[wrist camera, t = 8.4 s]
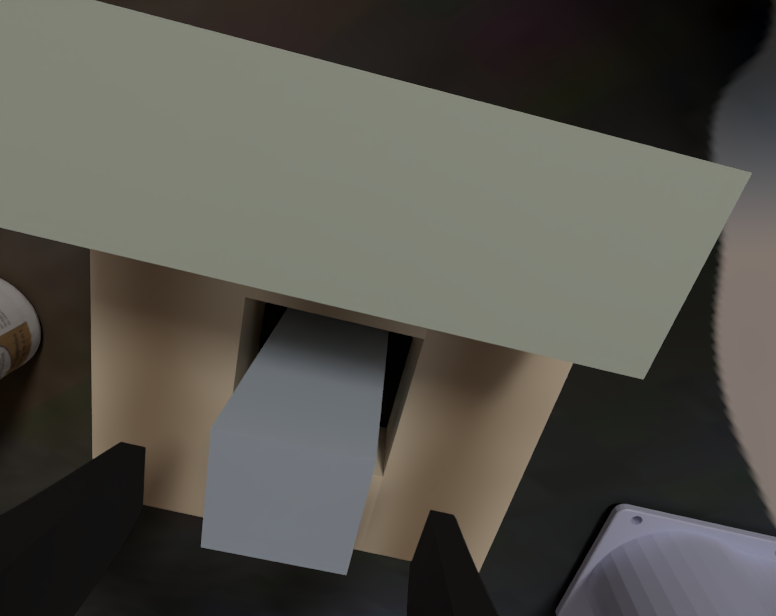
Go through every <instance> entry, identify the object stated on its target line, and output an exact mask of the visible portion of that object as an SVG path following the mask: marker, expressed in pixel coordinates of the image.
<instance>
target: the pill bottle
mask: <svg viewBox="0 0 776 616" xmlns="http://www.w3.org/2000/svg"><path fill="white" fill-rule="evenodd" d="M40 341H41V328H40V323H39V319H38V316H37V313H36V311H35V309H34V308H33V306H32V305H31V303H30V302H29V301H28V300H27V299H26V297H25V296H24V295H23V294H22V293H21V292H20V291H19V290H17V289H16V288H15V287H14V286H12V285H11V284H9V283H8V282H6V281H4V280H3V279H1V278H0V379H1V378H3V377H4V376H6V375H8V374H9V373H11V372H12V371H14V370H15V369H17V368H18V367H20V366H22V365H23V364H25V363H26V362H27V361H28V360H30V359H31V358H32V357H33V355H34V354H35V353H36V351H37V349H38V347H39V344H40Z"/></svg>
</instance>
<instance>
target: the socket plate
mask: <svg viewBox="0 0 776 616" xmlns="http://www.w3.org/2000/svg"><path fill="white" fill-rule="evenodd" d="M90 276H91V364H92V452H93V459H94V458H96V457H97V456H99V455H100V454H102V453H103V452H105V451H107V450H108V449H110V448H111V447H113V446H115V445H116V444H118V443H120V442H125V443H129V444H134V445H138V446H143V447H146V453H145V475H144V497H143V505H147V506H152V507H157V508H161V509H166V510H171V511H176V512H180V513H185V514H190V515H195V516H199V517H203V516H204V504H205V492H206V480H207V468H208V457H209V445H210V433H211V427H212V425H213V424H214V422H215V421H216V419H217V418H218V416H219V414H220V413H221V411H222V410H223V408H224V407H225V405H226V404H227V402H228V400H229V399H230V397H231V396H232V394H233V393H234V391H235V389H236V388H237V386H238V385H239V383H240V382H241V380H242V378H243V377H244V375H245V374H246V372H247V371H248V369H249V368H250V366H251V364H252V363H253V361H254V360H255V358H256V357H257V355H258V352H259V345H260V338H261V332H262V325H263V318H264V311H265V304H266V302H268V303H272V304H276V305H281V306H285V307H289V308H293V309H298V310H302V311H306V312H310V313H315V314H319V315H323V316H327V317H332V318H336V319H340V320H344V321H349V322H353V323H357V324H361V325H366V326H370V327H374V328H379V329H383V330H387V331H391V332H396V333H400V334H404V335H408V336H413V339H412V342H411V345H410V349H409V352H408V356H407V359H406V363H405V366H404V370H403V373H402V377H401V380H400V383H399V387H398V390H397V394H396V397H395V401H394V404H393V408H392V411H391V415H390V418H389V421H388V425H387V428H384V427H380V426H379V437H378V447H377V457H376V464H375V468H374V471H373V475H372V479H371V483H370V487H369V491H368V494H367V498H366V502H365V506H364V510H363V513H362V517H361V521H360V525H359V529H358V533H357V536H356V540H355V544H354V548H353V549H356V550H361V551H366V552H370V553H375V554H380V555H385V556H389V557H394V558H399V559H404V560H408V561H412V559H413V556H414V553H415V550H416V548H417V545H418V542H419V539H420V537H421V534H422V531H423V528H424V526H425V523H426V520H427V517H428V515H429V512H430V510H435V511H439V512H444V513H448V514H453V515H454V516H455V517H456V519H457V522H458V524H459V527H460V529H461V532H462V535H463V537H464V540H465V542H466V545H467V547H468V549H469V552H470V554H471V556H472V559H473V561H474V563H475V566H476V568H477V570H478V573H479V571H480V569H481V566H482V564H483V562H484V560H485V558H486V555H487V553H488V551H489V549H490V546H491V544H492V542H493V540H494V538H495V535H496V533H497V531H498V529H499V526H500V524H501V522H502V520H503V518H504V515H505V513H506V511H507V509H508V507H509V504H510V502H511V500H512V498H513V495H514V493H515V491H516V489H517V487H518V484H519V482H520V480H521V478H522V475H523V473H524V471H525V469H526V467H527V464H528V462H529V460H530V458H531V455H532V453H533V451H534V449H535V447H536V444H537V442H538V440H539V438H540V435H541V433H542V431H543V429H544V427H545V424H546V422H547V420H548V418H549V415H550V413H551V411H552V409H553V407H554V404H555V402H556V400H557V398H558V395H559V393H560V391H561V389H562V387H563V384H564V382H565V380H566V378H567V375H568V373H569V371H570V369H571V367H572V364H573V363H572V362H568V361H563V360H559V359H555V358H551V357H546V356H542V355H538V354H534V353H529V352H525V351H521V350H517V349H513V348H508V347H504V346H500V345H496V344H491V343H487V342H483V341H479V340H474V339H470V338H466V337H462V336H458V335H453V334H449V333H445V332H441V331H436V330H432V329H428V328H424V327H419V326H415V325H411V324H407V323H403V322H398V321H394V320H390V319H386V318H381V317H377V316H373V315H369V314H364V313H360V312H356V311H352V310H348V309H343V308H339V307H335V306H331V305H326V304H322V303H318V302H314V301H309V300H305V299H301V298H297V297H293V296H288V295H284V294H280V293H276V292H271V291H267V290H263V289H259V288H254V287H250V286H246V285H242V284H238V283H233V282H229V281H225V280H221V279H216V278H212V277H208V276H204V275H199V274H195V273H191V272H187V271H183V270H178V269H174V268H170V267H166V266H161V265H157V264H153V263H149V262H144V261H140V260H136V259H132V258H128V257H123V256H119V255H115V254H111V253H106V252H102V251H98V250H94V249H90Z"/></svg>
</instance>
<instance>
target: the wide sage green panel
mask: <svg viewBox="0 0 776 616" xmlns="http://www.w3.org/2000/svg"><path fill="white" fill-rule="evenodd" d="M751 174H752V173H750V172H746V171H742V170H739V169H735V168H731V167H727V166H723V165H720V164H716V163H712V162H708V161H704V160H701V159H697V158H693V157H689V156H685V155H682V154H678V153H674V152H670V151H666V150H663V149H659V148H655V147H651V146H647V145H644V144H640V143H636V142H632V141H628V140H625V139H621V138H617V137H613V136H609V135H605V134H602V133H598V132H594V131H590V130H586V129H583V128H579V127H575V126H571V125H567V124H564V123H560V122H556V121H552V120H548V119H545V118H541V117H537V116H533V115H529V114H526V113H522V112H518V111H514V110H510V109H507V108H503V107H499V106H495V105H491V104H487V103H484V102H480V101H476V100H472V99H468V98H465V97H461V96H457V95H453V94H449V93H446V92H442V91H438V90H434V89H430V88H427V87H423V86H419V85H415V84H411V83H408V82H404V81H400V80H396V79H392V78H388V77H385V76H381V75H377V74H373V73H369V72H366V71H362V70H358V69H354V68H350V67H347V66H343V65H339V64H335V63H331V62H328V61H324V60H320V59H316V58H312V57H309V56H305V55H301V54H297V53H293V52H290V51H286V50H282V49H278V48H274V47H270V46H267V45H263V44H259V43H255V42H251V41H248V40H244V39H240V38H236V37H232V36H229V35H225V34H221V33H217V32H213V31H210V30H206V29H202V28H198V27H194V26H191V25H187V24H183V23H179V22H175V21H172V20H168V19H164V18H160V17H156V16H152V15H149V14H145V13H141V12H137V11H133V10H130V9H126V8H122V7H118V6H114V5H111V4H107V3H103V2H99V1H95V0H0V227H1V228H5V229H9V230H13V231H18V232H22V233H26V234H30V235H34V236H39V237H43V238H47V239H51V240H56V241H60V242H64V243H68V244H73V245H77V246H81V247H85V248H89V249H94V250H98V251H102V252H106V253H111V254H115V255H119V256H123V257H128V258H132V259H136V260H140V261H144V262H149V263H153V264H157V265H161V266H166V267H170V268H174V269H178V270H183V271H187V272H191V273H195V274H199V275H204V276H208V277H212V278H216V279H221V280H225V281H229V282H233V283H238V284H242V285H246V286H250V287H254V288H259V289H263V290H267V291H271V292H276V293H280V294H284V295H288V296H293V297H297V298H301V299H305V300H309V301H314V302H318V303H322V304H326V305H331V306H335V307H339V308H343V309H348V310H352V311H356V312H360V313H364V314H369V315H373V316H377V317H381V318H386V319H390V320H394V321H398V322H403V323H407V324H411V325H415V326H419V327H424V328H428V329H432V330H436V331H441V332H445V333H449V334H453V335H458V336H462V337H466V338H470V339H474V340H479V341H483V342H487V343H491V344H496V345H500V346H504V347H508V348H513V349H517V350H521V351H525V352H529V353H534V354H538V355H542V356H546V357H551V358H555V359H559V360H563V361H568V362H572V363H576V364H580V365H584V366H589V367H593V368H597V369H601V370H606V371H610V372H614V373H618V374H623V375H627V376H631V377H635V378H639V379H644V377H645V375H646V374H647V372H648V370H649V368H650V366H651V364H652V362H653V360H654V358H655V356H656V355H657V353H658V351H659V349H660V347H661V345H662V343H663V341H664V339H665V337H666V335H667V334H668V332H669V330H670V328H671V326H672V324H673V322H674V320H675V318H676V316H677V315H678V313H679V311H680V309H681V307H682V305H683V303H684V301H685V299H686V297H687V296H688V294H689V292H690V290H691V288H692V286H693V284H694V282H695V280H696V278H697V277H698V275H699V273H700V271H701V269H702V267H703V265H704V263H705V261H706V259H707V258H708V256H709V254H710V252H711V250H712V248H713V246H714V244H715V242H716V240H717V238H718V237H719V235H720V233H721V231H722V229H723V227H724V225H725V223H726V221H727V219H728V218H729V216H730V214H731V212H732V210H733V208H734V206H735V204H736V202H737V200H738V199H739V197H740V195H741V193H742V191H743V189H744V187H745V185H746V183H747V181H748V180H749V177H750V176H751Z"/></svg>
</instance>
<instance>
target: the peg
mask: <svg viewBox="0 0 776 616" xmlns="http://www.w3.org/2000/svg"><path fill="white" fill-rule="evenodd" d="M388 334H389V331H387V330H383V329H379V328H374V327H370V326H366V325H361V324H357V323H353V322H349V321H344V320H340V319H336V318H332V317H327V316H323V315H319V314H315V313H310V312H306V311H302V310H298V309H293V308H289V307H288V308H287V310H286V311H285V313H284V314H283V316H282V317H281V319H280V321H279V322H278V324H277V325H276V327H275V328H274V330H273V332H272V333H271V335H270V336H269V338H268V339H267V341H266V342H265V344H264V346H263V347H262V349H261V350H260V352H259V353H258V355H257V357H256V358H255V360H254V361H253V363H252V364H251V366H250V368H249V369H248V371H247V372H246V374H245V375H244V377H243V378H242V380H241V382H240V383H239V385H238V386H237V388H236V389H235V391H234V393H233V394H232V396H231V397H230V399H229V400H228V402H227V404H226V405H225V407H224V408H223V410H222V411H221V413H220V414H219V416H218V418H217V419H216V421H215V422H214V424H213V425H212V427H211V433H210V445H209V457H208V468H207V480H206V492H205V504H204V516H203V527H202V539H201V547H203V548H208V549H213V550H218V551H223V552H229V553H234V554H239V555H244V556H249V557H255V558H260V559H265V560H270V561H275V562H281V563H286V564H291V565H296V566H301V567H307V568H312V569H317V570H322V571H327V572H333V573H338V574H343V575H347V571H348V567H349V563H350V559H351V556H352V552H353V548H354V544H355V540H356V536H357V533H358V529H359V525H360V521H361V517H362V513H363V510H364V506H365V502H366V498H367V494H368V491H369V487H370V483H371V479H372V475H373V471H374V468H375V464H376V457H377V447H378V437H379V426H380V416H381V406H382V396H383V385H384V375H385V365H386V355H387V344H388Z"/></svg>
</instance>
